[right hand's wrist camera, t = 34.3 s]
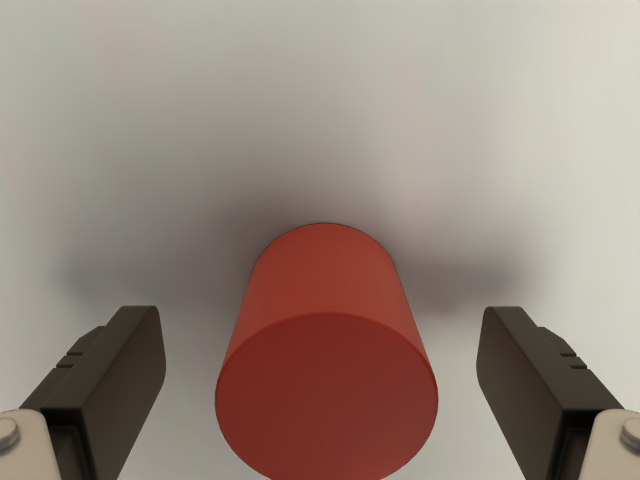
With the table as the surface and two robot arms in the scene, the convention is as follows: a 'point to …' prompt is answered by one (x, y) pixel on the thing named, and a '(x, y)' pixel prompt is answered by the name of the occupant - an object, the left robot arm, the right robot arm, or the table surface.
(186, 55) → the table surface
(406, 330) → the canister
